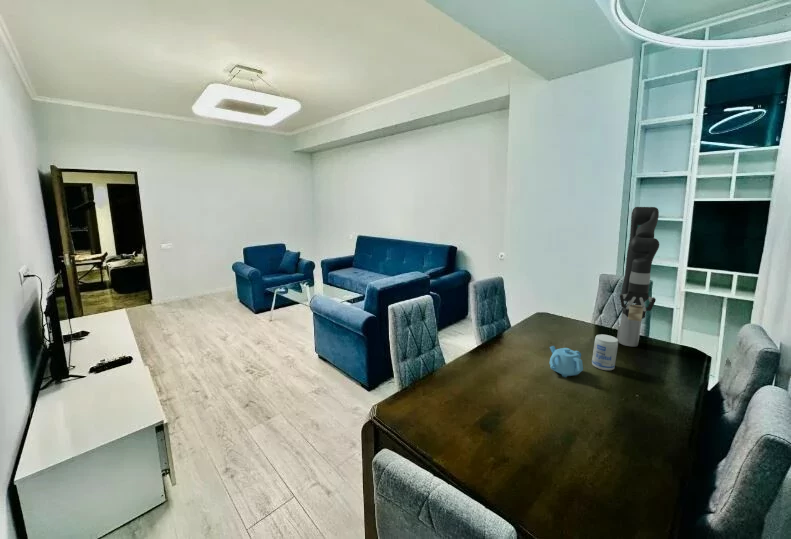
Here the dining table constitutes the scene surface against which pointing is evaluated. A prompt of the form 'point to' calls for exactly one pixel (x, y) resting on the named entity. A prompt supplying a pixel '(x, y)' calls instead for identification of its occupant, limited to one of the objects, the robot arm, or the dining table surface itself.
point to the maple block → (635, 313)
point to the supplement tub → (605, 352)
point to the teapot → (566, 361)
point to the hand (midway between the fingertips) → (634, 317)
